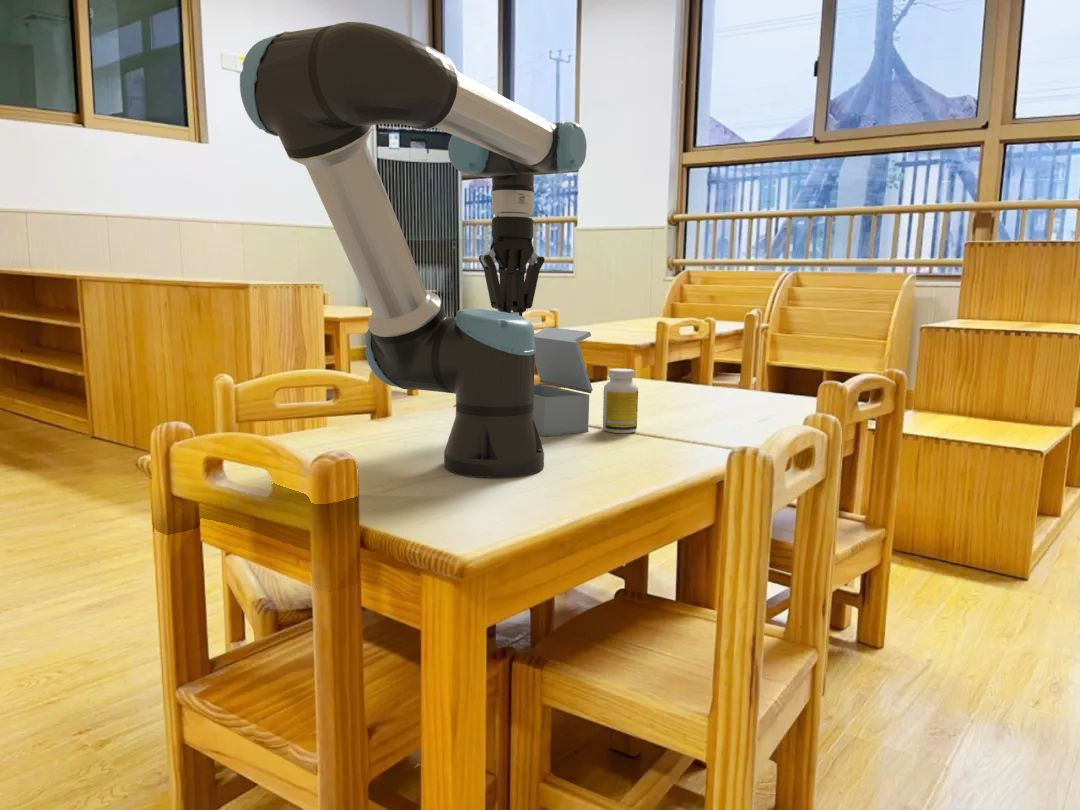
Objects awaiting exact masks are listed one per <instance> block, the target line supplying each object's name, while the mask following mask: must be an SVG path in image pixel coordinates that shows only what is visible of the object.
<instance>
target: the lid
mask: <svg viewBox="0 0 1080 810" xmlns="http://www.w3.org/2000/svg"><path fill="white" fill-rule="evenodd" d="M590 337H592V333H591V332H590V331H585V330H577V329H568V328H559V327H549V326H546V327H545V328H543V329H541V330H538V331H537V332H534V338H535V347H536V352H535V365H534V366H535V367H536V370H537V373H538V376H539V383H541V384H544V385H548V386H553V387H558V388H562V389H567V390H571V391H576V392H581V393H585V394H591V393H592V391H593V387H592V383H591V380H590V377H589V373H588V370H587V367H586V363H585V360H584V357H583V354H582V350H581V347H580V342H582V341H584V340H586V339H588V338H590Z"/></svg>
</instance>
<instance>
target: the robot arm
mask: <svg viewBox="0 0 1080 810" xmlns="http://www.w3.org/2000/svg"><path fill="white" fill-rule="evenodd" d="M239 73H240V74H239V91H240V92H239V93H240V97H241V102H242V105H243V107H244V111H245V112H246V115H248V118H249V120H251V123H253V124H254V126H255V127H257V128H258V129H259V130H262V131H264V132H265V133H266V134H269V135H272V136H274V137H279V141H280V142H281V144H282V146H283V149H284V150H285V152H286V154H287V157H288V159H290V160H291V161H293V162H295V163H298V164H300V165H303V166H305V168H306V171H307V173H308V175H309V177H310V179H311V181H312V183H313V185H314V187H315V190H316V192H317V194H318V196H319V199H320V200H321V203H322V205H323V207H324V209H325V211H326V214H327V216H328V218H329V221H330V222H331V225H332V226H333V229H334V231H335V233H336V236H337V237H338V239H339V242H340V245H341V246H342V248H343V251H344V253H345V256H346V257H347V259H348V262H349V264H350V266H351V268H352V271H353V273H354V274H355V277H356V279H357V282H358V284H359V285H360V287H361V290H362V293H363V295H364V296H365V298H366V301H367V303H368V306H369V308H370V309H371V312H372V313H371V315H370V317H369V318H368V322H367V325H368V326H367V327H368V330H367V332H366V335H365V344H367V347H366V348H364V350H365V353H364V354H365V357H366V361H367V363H368V366H369V368H370V370H371V372H372V373H373V374H374V375H375V376H376V378H378V379H379V380H380V381H381V382H382V383H384V384H386V385H388V386H391V387H396V388H400V389H401V390H409V391H417V390H419V391H428V392H439V393H447V394H455V418H454V421H453V424H452V427H451V430H450V433H449V435H448V439H447V442H446V446H445V448H444V451H443V467H444V469H446V470H448V471H449V472H451V473H455V474H458V475H461V476H462V475H463V476H468V477H469V476H470V477H477V478H478V477H479V478H513V477H521V476H527V475H528V476H529V475H532V474H536V473H538V472H541V471H542V470H543V469H544V468H545V451H544V448H543V444H542V441H541V438H540V435H539V434H538V431H537V428H536V424H535V421H534V416H533V404H534V385H535V366H536V365H535V352H536V347H535V338H534V334H535V328H534V325H533V323H532V321H530V320H529V319H528V318H527V317H524V316H523V314H524V313H525V312H526V310H527V309H532V307H533V302H534V298H535V294H536V289H537V284H538V280H539V275H540V271H541V268H542V266H543V265H544V263H545V257H544V256H540V255H539V254H538V253H536V252H535V249H534V248H535V247H534V245H533V238H534V223H535V222H534V221H535V220H534V219H533V218H532V217H531V216H532V215H534V206H535V205H534V195H535V194H534V193H535V188H534V183H535V182H534V181H535V174H537V175H538V174H557V173H558V174H563V173H568V172H575V171H578V170H580V169H581V168H582V166H583V165H584V163H585V160H586V157H587V147H588V146H587V137H586V134H585V132H584V130H583V128H582V126H581V125H580V124H579V123H577V122H574V121H571V122H570V121H564V120H563V121H560V122H552V121H549V120H548V119H546V118H543V116H542V117H541V116H539V115H538V114H536V113H534V112H532V111H530V110H529V109H527V108H525V107H523V106H521V105H519V104H518V103H516V102H514V101H512V100H510V99H508V98H506V97H505V96H503V95H501V94H499V93H497V92H495V91H494V90H492V89H490V88H488V87H486V86H485V85H483V84H481V83H479V82H477V81H475V80H474V79H472V78H470V77H468V76H466V75H465V74H463V73H461V72H459V71H457V69H456V66H455V65H454V63H453V61H452V59H450V58H449V57H448V56H447V55H445V54H444V53H442V52H441V51H438V50H437V49H435V48H433V47H432V46H430V45H429V44H426V43H423V42H421V41H420V40H417V39H416V38H413V37H411V36H408V35H406V34H403V33H401V32H398V31H395V30H392V29H390V28H387V27H384V26H379V25H377V24H373V23H368V22H360V21H359V22H358V21H344V22H338V23H335V24H331V25H326V26H319V27H313V28H312V27H311V28H307V29H300V30H294V31H293V30H292V31H284V32H281V33H278V34H275V35H272V36H269V37H266V38H263V39H261V40H259V41H257V42H256V43H255V44H253V45H252V47H250V49H249V50H248V51H247V53H246V55H245V57H244V58H243V62H242V71H241V72H239ZM375 125H405V126H408V127H411V128H413V129H416V130H420V131H421V130H422V131H426V130H430V129H431V130H432V129H434V128H435V129H438V130H441V131H442V132H445V133H447V134H450V135H451V137H450V138H449V139H450V140H449V141H448V147H447V148H448V149H447V152H448V158H449V160H450V163H451V165H452V166H453V167H454V169H456V170H457V171H459V172H460V173H464V174H466V175H468V176H470V177H471V176H472V177H473V176H477V177H483V178H486V179H487V178H488V179H491V184H492V185H491V186H492V187H491V214H492V215H494V216H493V217H492V219H491V238H492V243H491V244H490V246H489V247H490V248H489V249H490V250H489V251H488V252H486V253H485V254H481V255H479V256H478V261H479V262H480V264H481V266H482V268H483V274H484V277H485V282H486V287H487V292H488V297H489V301H490V306H491V308H493V310H492V309H491V310H490V309H483V308H459V310H458V311H456V315H455V317H454V316H448V314H447V313H446V310H445V308H444V305H443V304H442V300H441V298H440V296H439V295H437V294H436V293H434V292H431V291H428V290H427V289H426V288H425V285H424V282H423V280H422V278H421V275H420V273H419V270H418V267H417V265H416V263H415V260H414V258H413V255H412V253H411V250H410V247H409V245H408V243H407V241H406V238H405V236H404V233H403V231H402V228H401V225H400V223H399V221H398V218H397V215H396V213H395V211H394V208H393V205H392V203H391V201H390V198H389V196H388V193H387V190H386V188H385V186H384V184H383V181H382V178H381V175H380V173H379V170H378V169H377V166H376V163H375V161H374V158H373V156H372V153H371V151H370V149H369V146H368V143H367V141H368V138H369V136H370V135H371V132H372V129H373V126H375ZM495 262H496V263H497V264H498V268H497V266H496V264H495ZM527 264H528V265H527ZM498 274H499V275H498ZM494 309H496V310H494Z"/></svg>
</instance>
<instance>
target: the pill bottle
mask: <svg viewBox="0 0 1080 810" xmlns="http://www.w3.org/2000/svg"><path fill="white" fill-rule="evenodd" d="M634 376H635V370H634V369H631V368H610V369H609V370H608V377H609V381H608V382H606V384H605V385H604V386H603V404H602V405H603V406H602V407H603V408H602V410H603V411H602V415H603V416H602V428H603V430H604V431H606V432H608V433H612V434H613V433H614V434H629V433H630V434H631V433H635V431H637V430H638V410H639V409H638V406H639V405H638V403H639V386H638V385H637V384H636V383H635V382H634V381H633V378H635V377H634Z"/></svg>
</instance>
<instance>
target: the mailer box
mask: <svg viewBox="0 0 1080 810" xmlns="http://www.w3.org/2000/svg"><path fill="white" fill-rule="evenodd" d="M589 412H590V394H589V393H585V392H580V391H576V390H571V389H566V388H562V387H557V386H553V385H548V384H544V383H541V384H534V404H533V416H534V421H535V424H536V428H537V431H538V434H539V437H540V436H541V437H544V438H545V437H551V436H552V437H554V436H561V435H562V436H563V435H570V434H571V435H572V434H579V433H587V432H589V423H590V422H589V419H590V418H589V416H590V413H589Z"/></svg>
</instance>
